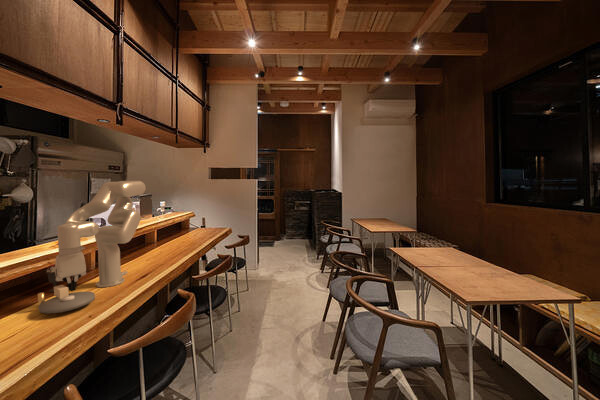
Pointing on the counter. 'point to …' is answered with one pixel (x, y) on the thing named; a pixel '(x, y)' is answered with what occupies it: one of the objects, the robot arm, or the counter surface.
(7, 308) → the counter surface
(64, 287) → the disc
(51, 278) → the sundae
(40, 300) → the brown rounded oblong piece
